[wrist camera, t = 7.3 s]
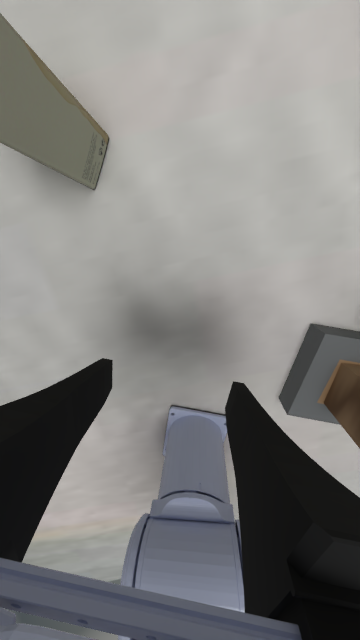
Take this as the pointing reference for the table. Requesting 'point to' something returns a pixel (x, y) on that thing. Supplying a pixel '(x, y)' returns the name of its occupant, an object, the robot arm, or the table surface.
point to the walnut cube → (346, 399)
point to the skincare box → (45, 114)
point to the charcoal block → (318, 371)
